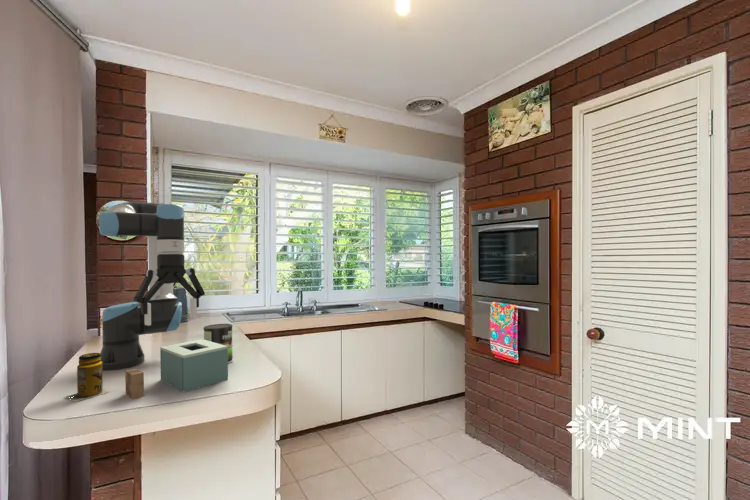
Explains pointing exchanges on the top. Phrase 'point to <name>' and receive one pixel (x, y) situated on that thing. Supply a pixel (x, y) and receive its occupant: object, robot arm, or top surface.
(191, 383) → the teal box with hole
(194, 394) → the top surface
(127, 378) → the tan upright block
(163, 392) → the top surface
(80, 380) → the condiment
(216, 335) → the coffee can
